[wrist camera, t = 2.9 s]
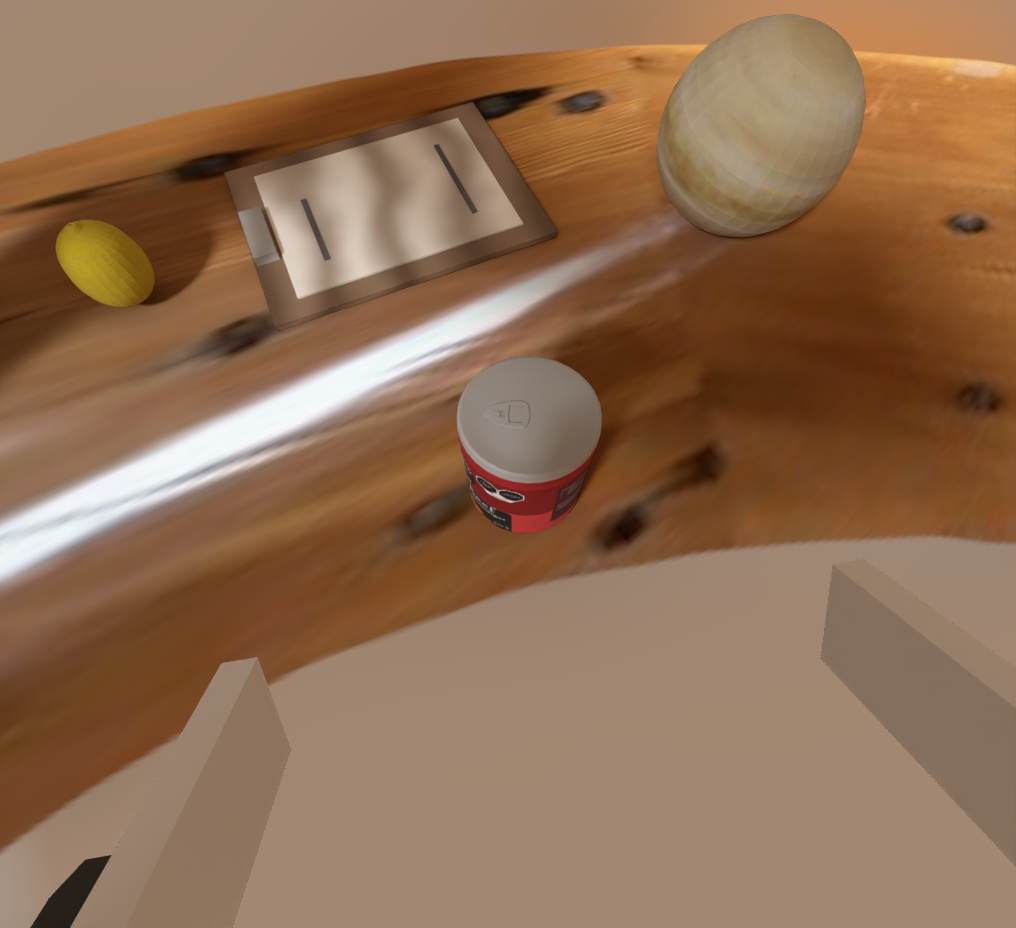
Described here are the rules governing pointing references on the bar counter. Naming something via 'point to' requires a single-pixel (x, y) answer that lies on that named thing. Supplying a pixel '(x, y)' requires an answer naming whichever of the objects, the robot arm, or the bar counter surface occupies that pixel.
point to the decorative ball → (761, 125)
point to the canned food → (527, 441)
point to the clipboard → (382, 212)
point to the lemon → (105, 263)
